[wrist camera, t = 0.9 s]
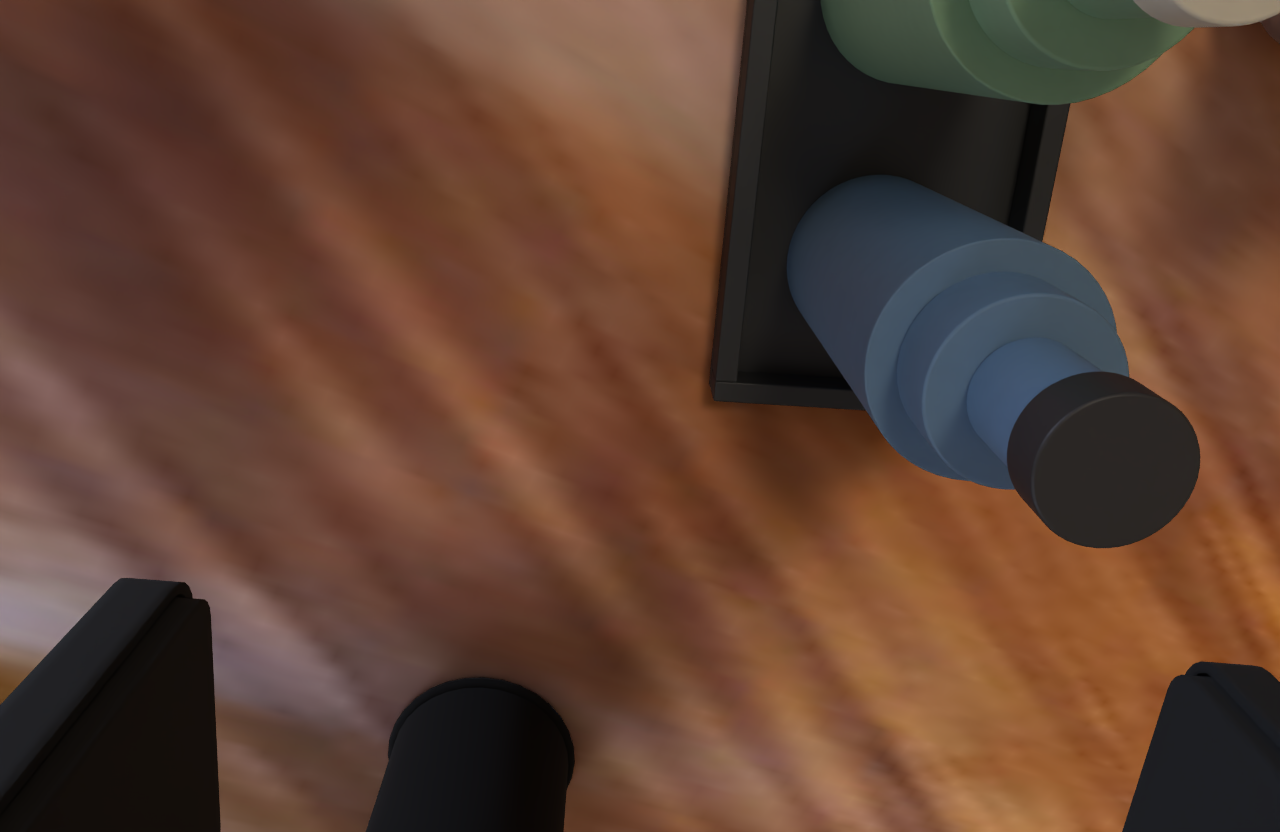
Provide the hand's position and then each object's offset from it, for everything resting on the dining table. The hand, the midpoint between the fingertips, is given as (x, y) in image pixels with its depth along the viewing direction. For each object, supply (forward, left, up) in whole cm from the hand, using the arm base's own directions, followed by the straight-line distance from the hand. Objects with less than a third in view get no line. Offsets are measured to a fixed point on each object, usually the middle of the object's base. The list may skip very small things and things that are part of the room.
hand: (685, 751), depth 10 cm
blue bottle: (+1, +9, -30) cm, 31 cm away
